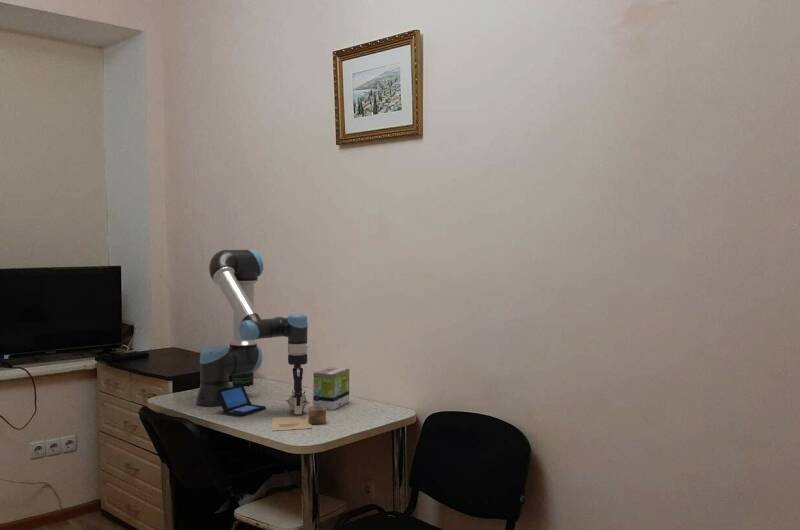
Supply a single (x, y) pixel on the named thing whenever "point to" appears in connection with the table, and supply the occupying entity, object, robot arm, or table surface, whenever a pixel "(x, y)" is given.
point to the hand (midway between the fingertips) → (297, 410)
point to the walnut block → (317, 415)
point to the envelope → (290, 423)
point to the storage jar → (243, 379)
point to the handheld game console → (237, 402)
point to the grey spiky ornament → (292, 402)
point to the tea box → (331, 388)
